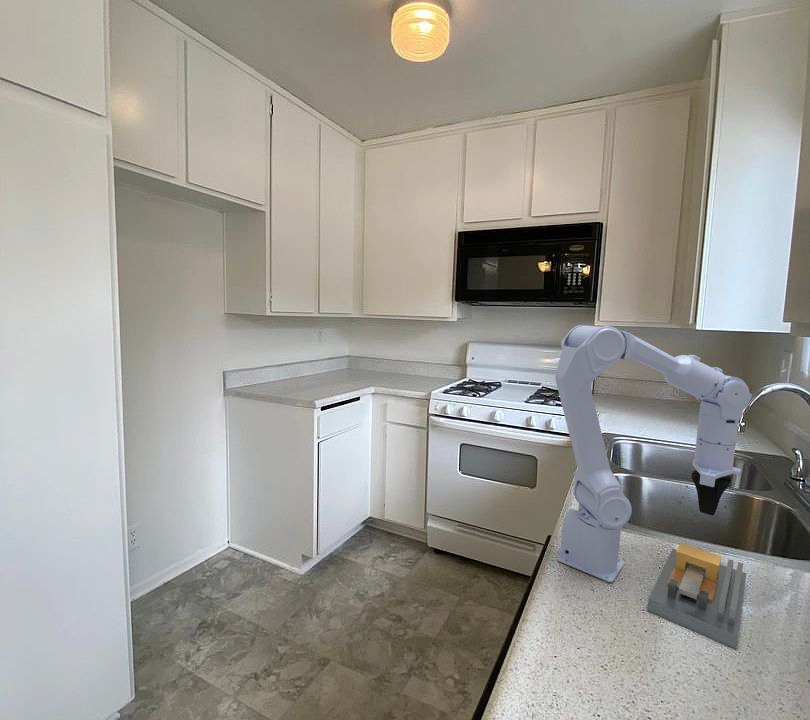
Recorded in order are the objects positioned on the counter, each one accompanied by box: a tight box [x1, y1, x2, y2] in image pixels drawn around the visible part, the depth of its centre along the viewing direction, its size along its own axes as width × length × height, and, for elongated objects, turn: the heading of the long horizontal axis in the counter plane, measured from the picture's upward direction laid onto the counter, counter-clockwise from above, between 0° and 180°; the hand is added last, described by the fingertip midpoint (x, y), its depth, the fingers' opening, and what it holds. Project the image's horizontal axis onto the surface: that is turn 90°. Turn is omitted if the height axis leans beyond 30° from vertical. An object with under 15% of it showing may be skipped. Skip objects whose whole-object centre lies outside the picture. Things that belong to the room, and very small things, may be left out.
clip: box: [675, 542, 722, 582], centre depth 73 cm, size 6×4×3 cm, turn 48°
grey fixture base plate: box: [647, 548, 747, 650], centre depth 70 cm, size 11×20×4 cm, turn 138°
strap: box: [678, 563, 706, 600], centre depth 70 cm, size 2×11×1 cm, turn 138°
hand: (707, 512), depth 78 cm, fingers closed
